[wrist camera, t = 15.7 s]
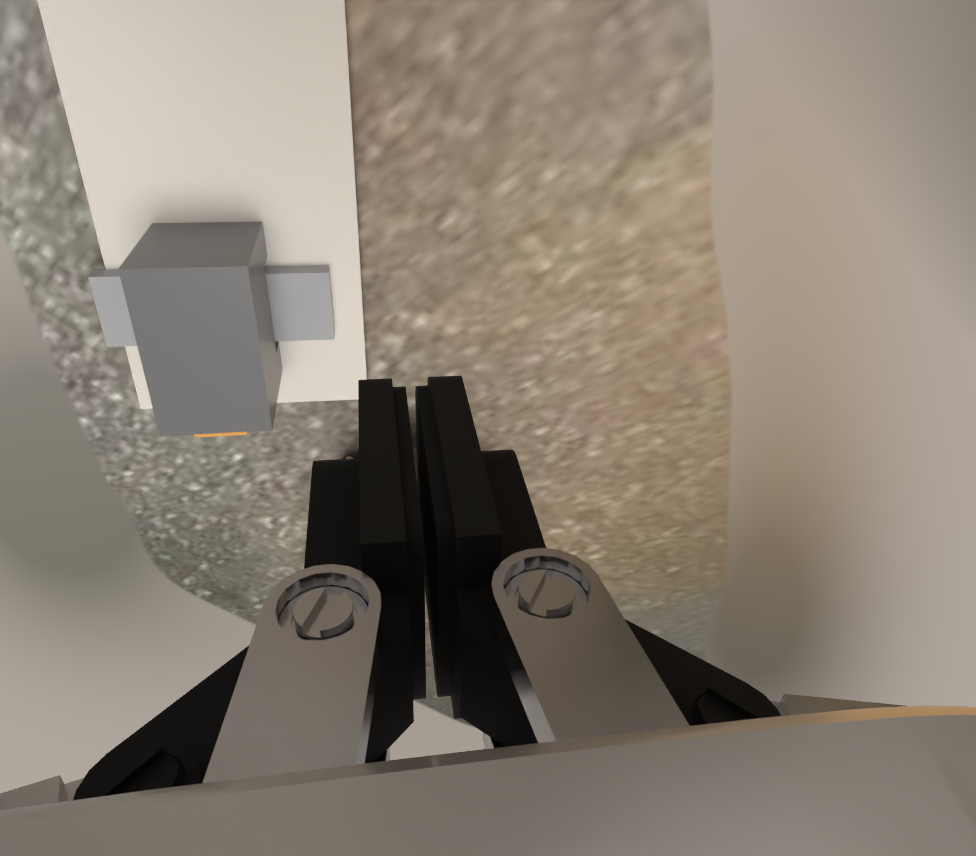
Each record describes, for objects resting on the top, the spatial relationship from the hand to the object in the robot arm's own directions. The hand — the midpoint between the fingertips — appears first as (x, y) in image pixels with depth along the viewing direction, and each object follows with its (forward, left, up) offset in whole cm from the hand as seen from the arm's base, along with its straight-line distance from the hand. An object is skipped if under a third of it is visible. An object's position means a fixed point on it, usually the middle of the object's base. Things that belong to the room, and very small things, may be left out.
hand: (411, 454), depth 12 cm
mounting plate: (+7, +3, -27) cm, 28 cm away
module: (+8, +8, -26) cm, 28 cm away
